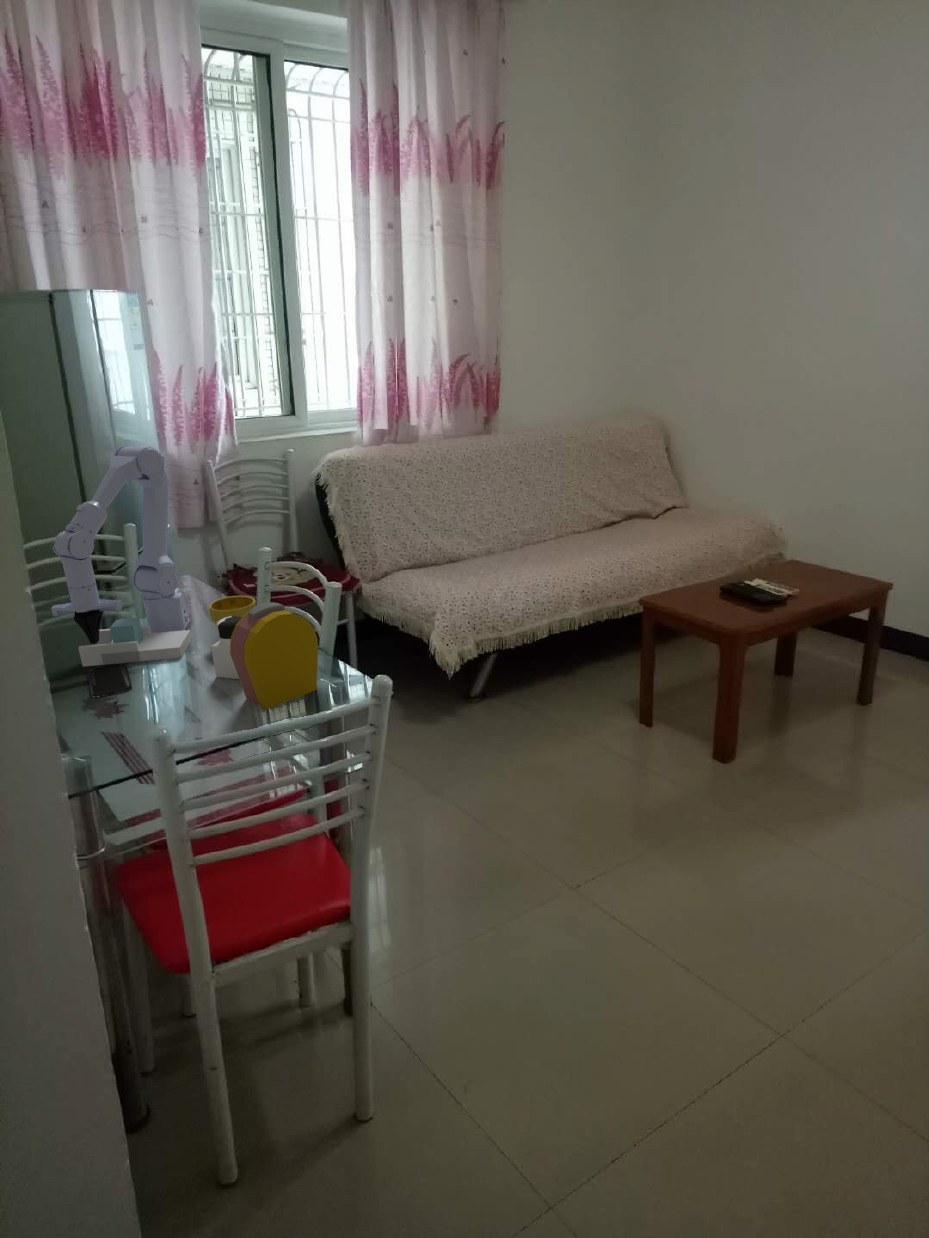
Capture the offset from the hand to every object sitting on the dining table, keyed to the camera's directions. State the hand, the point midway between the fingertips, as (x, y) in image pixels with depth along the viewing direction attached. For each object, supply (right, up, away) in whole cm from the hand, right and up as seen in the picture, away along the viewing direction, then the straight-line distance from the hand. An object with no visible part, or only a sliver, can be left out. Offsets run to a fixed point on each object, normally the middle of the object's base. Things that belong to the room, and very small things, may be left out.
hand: (94, 642), depth 190 cm
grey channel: (+9, -3, +2) cm, 9 cm away
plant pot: (+31, 0, +4) cm, 32 cm away
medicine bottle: (+36, -6, -12) cm, 39 cm away
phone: (+9, -9, -13) cm, 17 cm away
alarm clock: (+47, -10, -24) cm, 54 cm away
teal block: (+7, 0, +1) cm, 7 cm away
